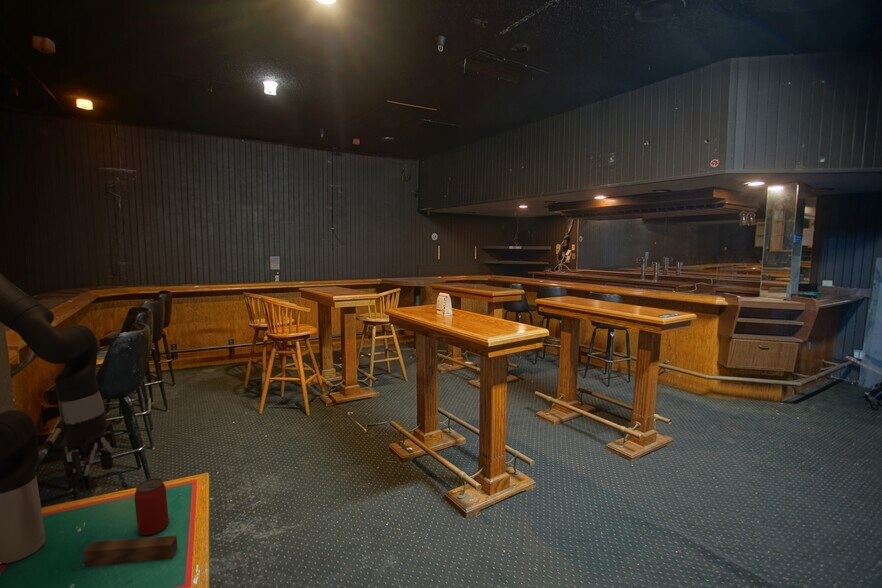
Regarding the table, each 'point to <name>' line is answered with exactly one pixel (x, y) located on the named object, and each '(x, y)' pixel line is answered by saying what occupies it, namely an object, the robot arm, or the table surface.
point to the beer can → (151, 506)
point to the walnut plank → (130, 550)
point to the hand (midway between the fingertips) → (97, 479)
